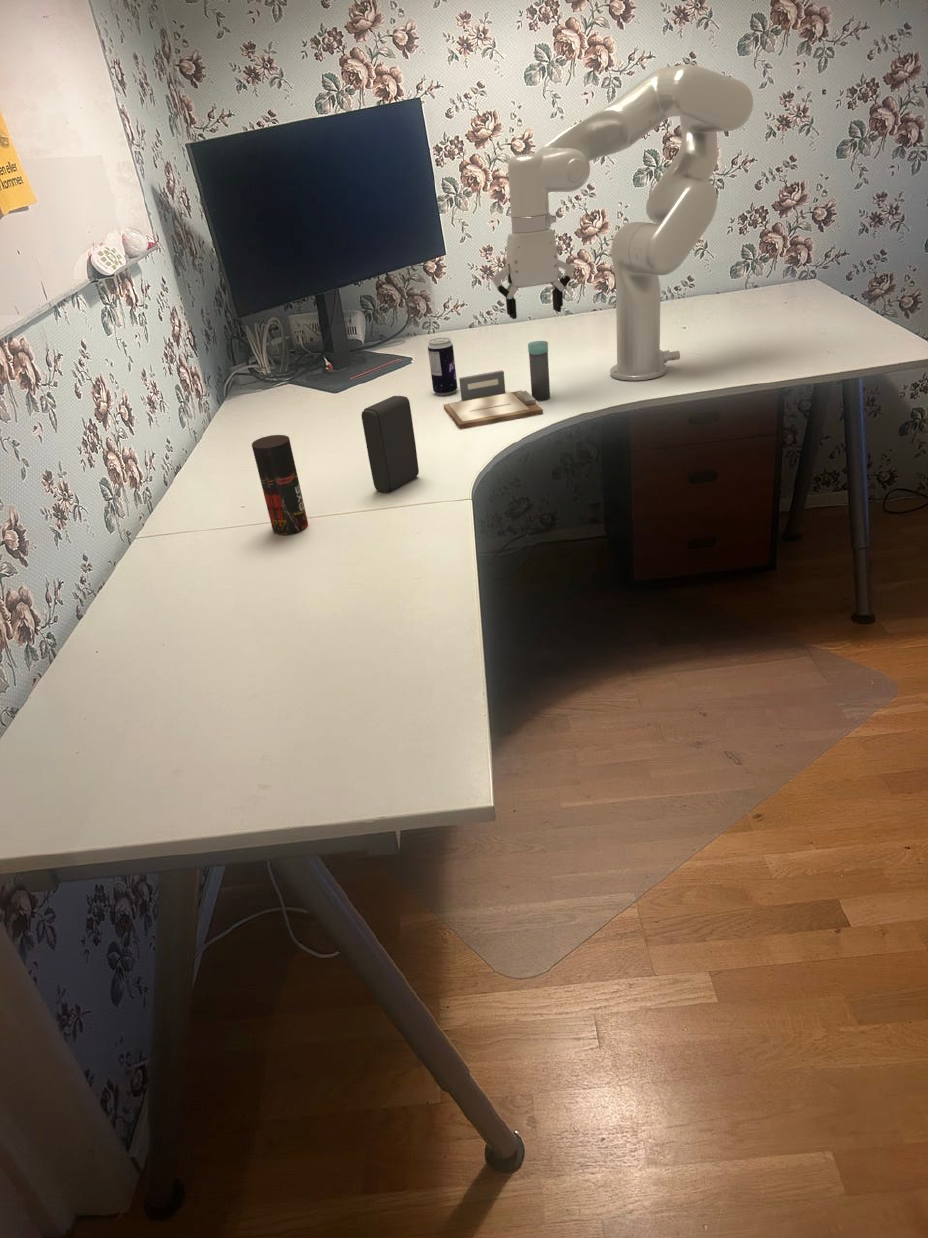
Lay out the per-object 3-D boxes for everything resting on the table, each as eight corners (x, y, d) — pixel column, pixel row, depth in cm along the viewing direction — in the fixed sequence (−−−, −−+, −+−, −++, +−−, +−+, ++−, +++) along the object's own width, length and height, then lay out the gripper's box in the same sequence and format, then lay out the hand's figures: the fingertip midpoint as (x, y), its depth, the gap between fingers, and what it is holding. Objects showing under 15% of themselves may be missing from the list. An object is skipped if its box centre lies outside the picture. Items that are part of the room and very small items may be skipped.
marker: (547, 393, 188) (544, 339, 182) (553, 398, 185) (550, 343, 179) (529, 396, 188) (525, 342, 182) (534, 402, 184) (531, 347, 178)
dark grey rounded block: (406, 472, 157) (394, 392, 149) (422, 476, 155) (411, 395, 147) (372, 491, 151) (357, 408, 144) (388, 495, 149) (374, 411, 141)
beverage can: (455, 396, 194) (449, 342, 188) (431, 397, 195) (424, 344, 189) (460, 388, 199) (454, 336, 193) (436, 389, 200) (430, 337, 194)
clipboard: (521, 394, 190) (521, 385, 189) (543, 413, 177) (542, 404, 176) (443, 408, 187) (442, 399, 186) (459, 429, 174) (458, 419, 173)
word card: (504, 392, 193) (502, 370, 190) (505, 393, 192) (503, 371, 189) (461, 399, 191) (459, 377, 189) (462, 401, 190) (460, 379, 188)
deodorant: (274, 522, 144) (254, 437, 136) (309, 517, 144) (290, 432, 136) (271, 537, 139) (249, 450, 131) (307, 532, 139) (287, 445, 131)
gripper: (565, 217, 173) (568, 304, 182) (483, 228, 170) (490, 317, 179) (578, 220, 166) (580, 311, 175) (493, 232, 164) (500, 323, 173)
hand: (535, 314), depth 177 cm, fingers open, 9 cm apart
